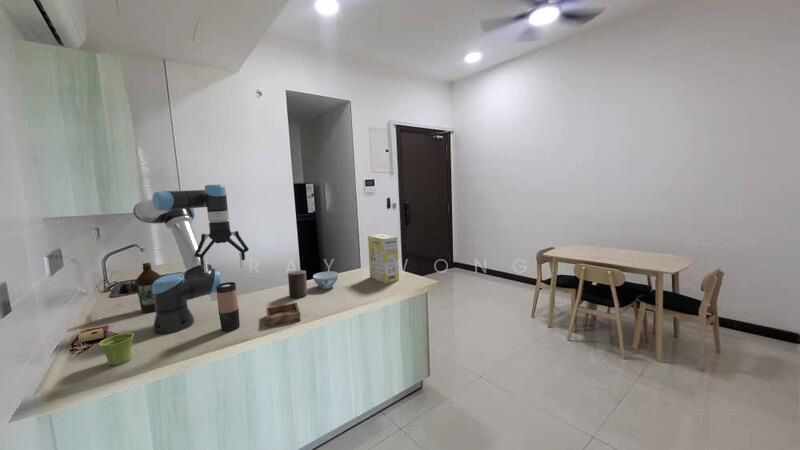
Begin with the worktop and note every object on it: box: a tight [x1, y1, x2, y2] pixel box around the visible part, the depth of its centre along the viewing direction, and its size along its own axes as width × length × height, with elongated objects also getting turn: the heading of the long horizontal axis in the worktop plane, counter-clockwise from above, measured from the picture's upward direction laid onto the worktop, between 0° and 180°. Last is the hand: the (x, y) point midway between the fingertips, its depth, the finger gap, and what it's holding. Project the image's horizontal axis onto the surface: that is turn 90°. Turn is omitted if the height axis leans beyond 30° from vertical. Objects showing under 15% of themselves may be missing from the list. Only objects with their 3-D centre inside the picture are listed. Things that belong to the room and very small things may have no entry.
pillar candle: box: [287, 269, 308, 300], centre depth 176 cm, size 10×10×15 cm
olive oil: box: [135, 262, 162, 314], centre depth 163 cm, size 11×11×25 cm
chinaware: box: [312, 270, 339, 290], centre depth 190 cm, size 15×15×8 cm
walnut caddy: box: [266, 302, 301, 328], centre depth 147 cm, size 14×14×4 cm
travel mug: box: [216, 281, 240, 333], centre depth 137 cm, size 8×8×20 cm
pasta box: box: [367, 233, 400, 285], centre depth 201 cm, size 18×10×28 cm, turn 37°
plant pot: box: [98, 332, 135, 366], centre depth 114 cm, size 9×9×9 cm
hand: (224, 269), depth 135 cm, fingers open, 13 cm apart
